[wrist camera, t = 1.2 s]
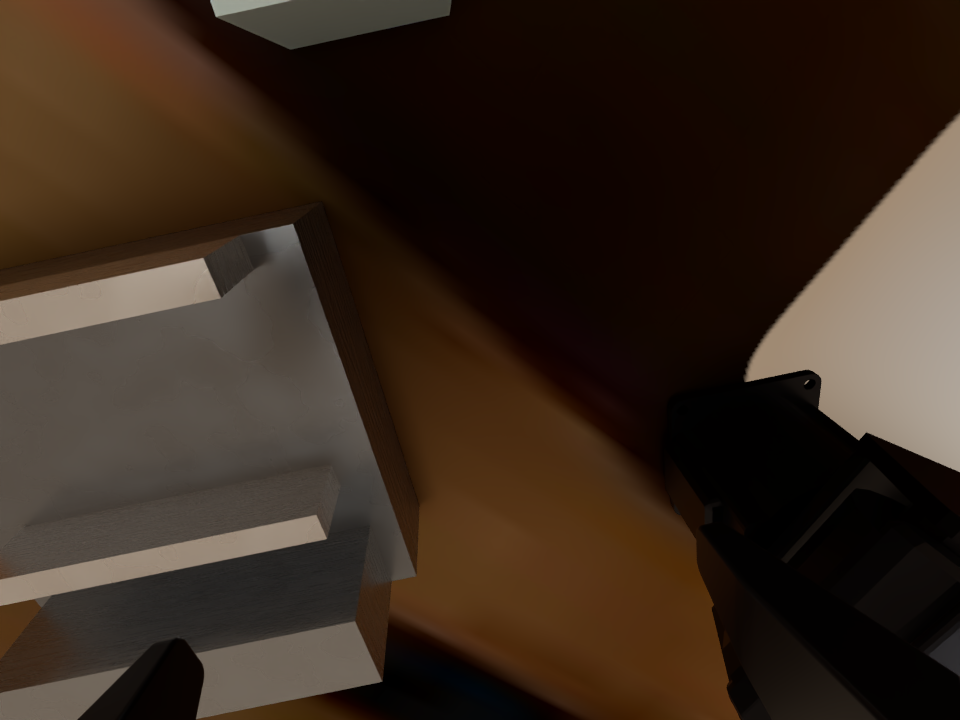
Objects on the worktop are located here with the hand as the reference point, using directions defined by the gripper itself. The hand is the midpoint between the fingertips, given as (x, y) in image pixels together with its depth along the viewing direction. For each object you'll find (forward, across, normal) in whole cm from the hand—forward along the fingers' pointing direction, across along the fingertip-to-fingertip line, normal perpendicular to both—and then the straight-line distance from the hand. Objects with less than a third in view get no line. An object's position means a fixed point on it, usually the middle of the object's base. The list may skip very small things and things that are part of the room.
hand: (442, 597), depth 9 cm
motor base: (+12, +10, +2) cm, 16 cm away
